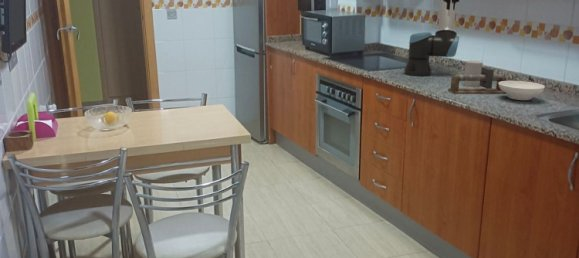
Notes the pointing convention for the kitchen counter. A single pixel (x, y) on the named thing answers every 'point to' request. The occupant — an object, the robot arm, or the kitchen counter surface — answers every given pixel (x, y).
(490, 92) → the pipe stand
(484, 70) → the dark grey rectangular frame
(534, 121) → the kitchen counter surface
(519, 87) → the bowl
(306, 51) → the kitchen counter surface
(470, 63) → the light grey cylinder
